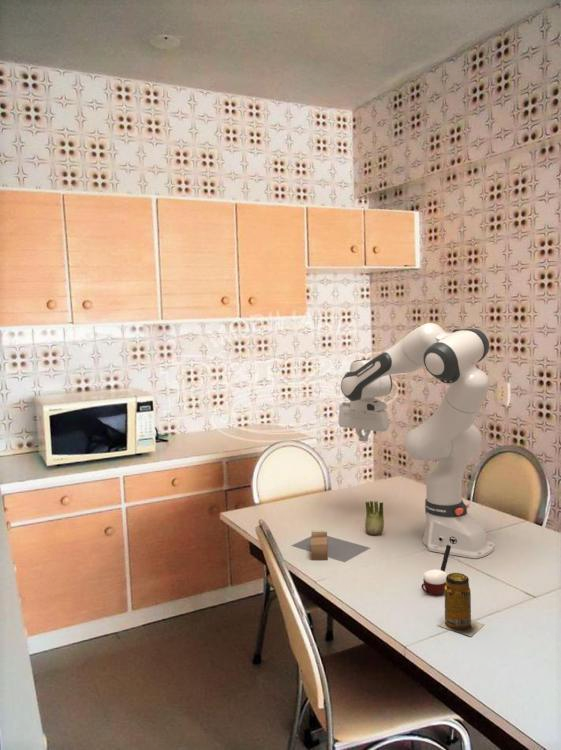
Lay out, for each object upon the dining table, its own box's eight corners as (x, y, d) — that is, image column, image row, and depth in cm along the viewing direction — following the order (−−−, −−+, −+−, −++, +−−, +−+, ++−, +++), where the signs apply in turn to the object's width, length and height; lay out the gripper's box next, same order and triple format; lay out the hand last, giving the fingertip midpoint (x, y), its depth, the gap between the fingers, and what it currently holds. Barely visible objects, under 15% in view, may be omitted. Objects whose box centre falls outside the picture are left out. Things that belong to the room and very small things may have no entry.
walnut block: (311, 530, 198) (310, 544, 186) (326, 530, 198) (327, 544, 186) (312, 545, 198) (311, 560, 186) (327, 545, 198) (327, 560, 186)
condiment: (452, 614, 151) (451, 568, 150) (484, 625, 145) (484, 577, 144) (437, 626, 146) (436, 578, 144) (470, 637, 140) (470, 588, 139)
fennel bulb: (385, 534, 206) (384, 500, 205) (378, 539, 202) (377, 504, 201) (370, 531, 210) (369, 497, 209) (363, 535, 206) (362, 501, 205)
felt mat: (370, 549, 194) (370, 547, 194) (344, 563, 184) (344, 562, 184) (318, 534, 209) (317, 533, 209) (291, 546, 199) (291, 545, 199)
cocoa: (423, 599, 160) (421, 557, 158) (417, 588, 166) (414, 547, 164) (458, 596, 160) (456, 553, 159) (451, 584, 166) (449, 543, 165)
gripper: (334, 402, 224) (335, 439, 225) (380, 406, 210) (381, 445, 211) (344, 400, 228) (345, 436, 230) (390, 404, 214) (391, 442, 216)
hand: (363, 441), depth 220 cm, fingers closed
